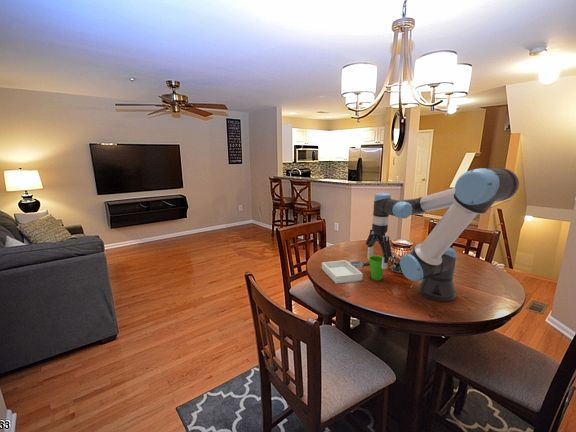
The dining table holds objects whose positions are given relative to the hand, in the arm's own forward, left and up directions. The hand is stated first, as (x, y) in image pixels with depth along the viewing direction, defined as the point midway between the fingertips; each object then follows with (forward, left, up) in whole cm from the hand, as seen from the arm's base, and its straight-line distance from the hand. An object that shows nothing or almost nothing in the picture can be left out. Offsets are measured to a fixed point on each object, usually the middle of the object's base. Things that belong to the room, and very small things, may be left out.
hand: (376, 263), depth 148 cm
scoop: (+18, -1, -8) cm, 20 cm away
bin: (+9, +16, -8) cm, 20 cm away
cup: (0, 0, -8) cm, 8 cm away
